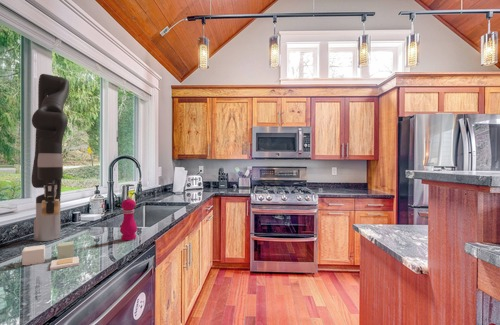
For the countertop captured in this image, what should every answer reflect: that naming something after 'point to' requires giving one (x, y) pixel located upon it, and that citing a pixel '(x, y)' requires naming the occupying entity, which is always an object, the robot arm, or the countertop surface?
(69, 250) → the sage block
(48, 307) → the countertop surface
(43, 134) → the robot arm
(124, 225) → the pepper mill
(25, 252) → the base block
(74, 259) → the tile
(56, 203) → the maple block
